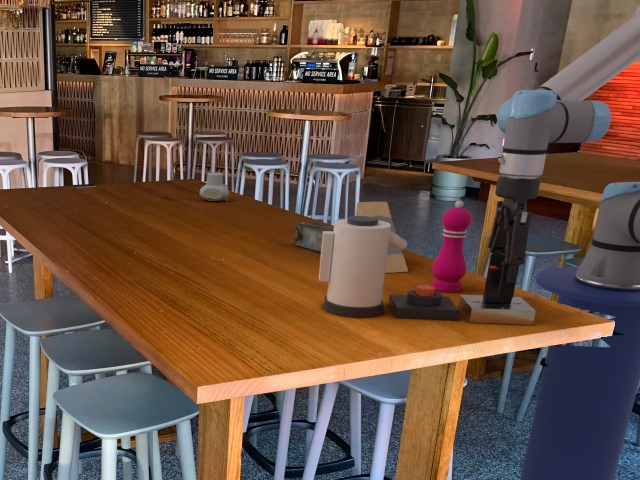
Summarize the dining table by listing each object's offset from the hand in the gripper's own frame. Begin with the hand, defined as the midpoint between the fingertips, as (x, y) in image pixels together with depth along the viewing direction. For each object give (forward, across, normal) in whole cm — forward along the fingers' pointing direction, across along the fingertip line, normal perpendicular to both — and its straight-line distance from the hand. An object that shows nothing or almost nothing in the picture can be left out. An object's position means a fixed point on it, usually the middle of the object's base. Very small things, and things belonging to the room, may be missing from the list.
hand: (498, 291), depth 160 cm
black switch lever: (+2, 0, 0) cm, 2 cm away
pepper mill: (+6, -21, -5) cm, 22 cm away
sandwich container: (+6, -42, -17) cm, 46 cm away
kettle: (+5, -1, -28) cm, 29 cm away
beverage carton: (+6, -58, -29) cm, 65 cm away
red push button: (+2, -1, -14) cm, 14 cm away
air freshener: (+6, -140, -64) cm, 154 cm away
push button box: (+5, -1, -14) cm, 15 cm away
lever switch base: (+5, 0, 0) cm, 5 cm away
